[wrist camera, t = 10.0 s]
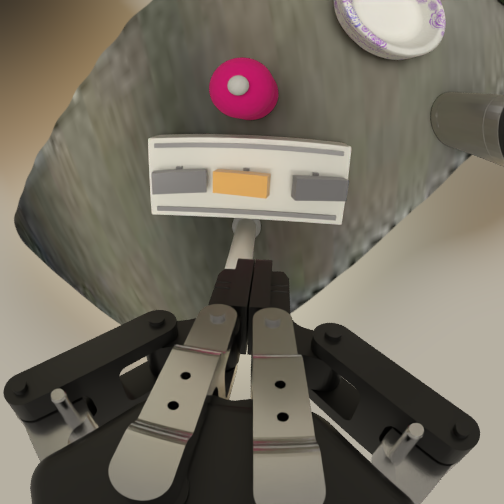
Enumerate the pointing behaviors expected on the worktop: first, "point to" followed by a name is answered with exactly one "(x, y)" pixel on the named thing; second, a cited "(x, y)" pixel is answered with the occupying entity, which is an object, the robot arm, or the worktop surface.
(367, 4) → the paper bowls
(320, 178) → the paddle
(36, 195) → the worktop surface
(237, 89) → the pepper mill
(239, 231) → the post
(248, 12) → the worktop surface
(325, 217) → the breaker panel
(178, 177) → the paddle
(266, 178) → the block
